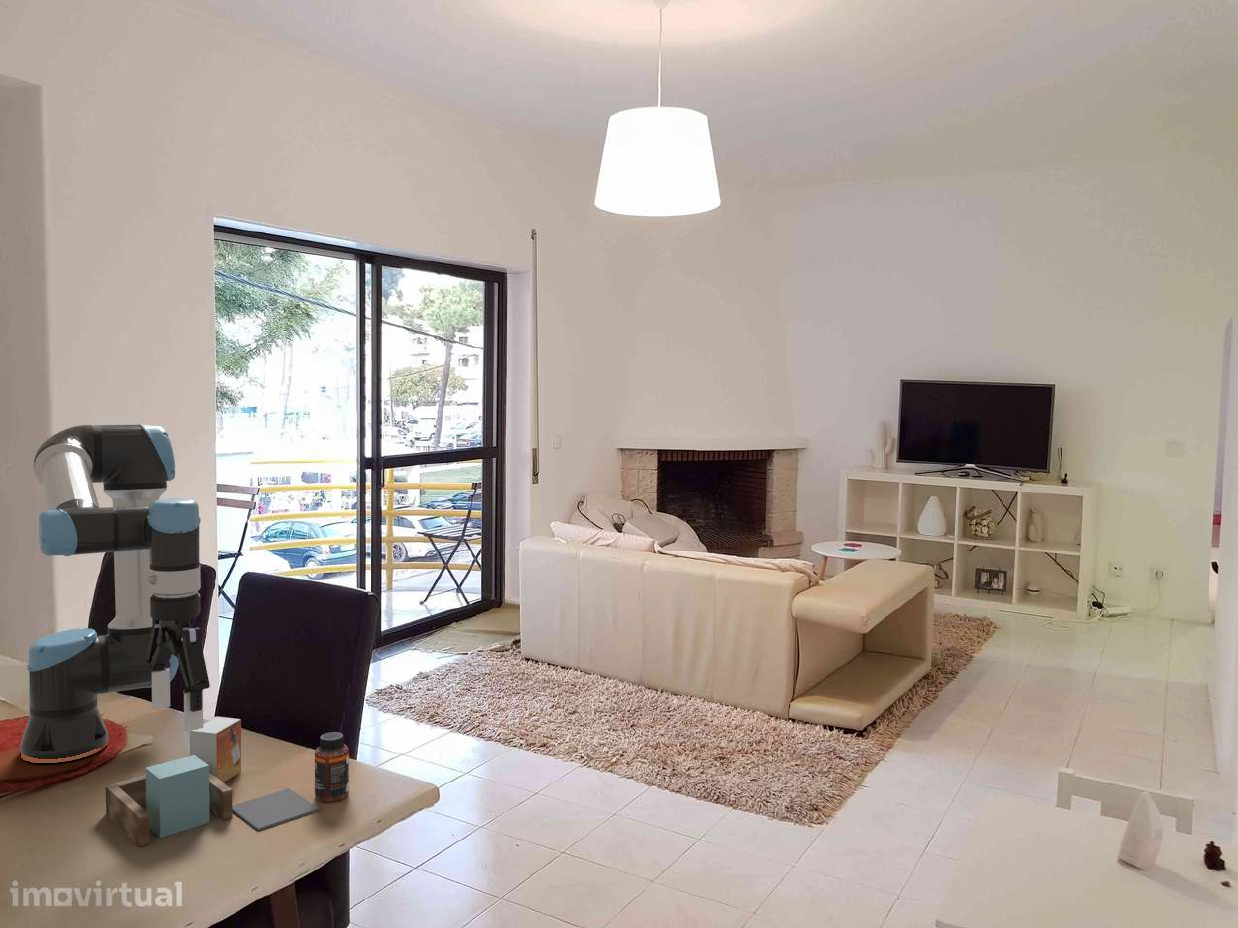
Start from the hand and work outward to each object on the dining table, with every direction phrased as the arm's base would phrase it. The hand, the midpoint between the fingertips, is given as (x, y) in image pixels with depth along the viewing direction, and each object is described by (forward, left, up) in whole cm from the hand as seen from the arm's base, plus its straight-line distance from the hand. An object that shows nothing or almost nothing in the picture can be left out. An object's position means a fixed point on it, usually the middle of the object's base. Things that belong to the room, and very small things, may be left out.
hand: (177, 718), depth 156 cm
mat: (+6, +14, -18) cm, 24 cm away
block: (0, 0, -18) cm, 18 cm away
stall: (-4, 0, -18) cm, 19 cm away
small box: (-13, +12, -19) cm, 26 cm away
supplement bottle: (+8, +24, -19) cm, 31 cm away
